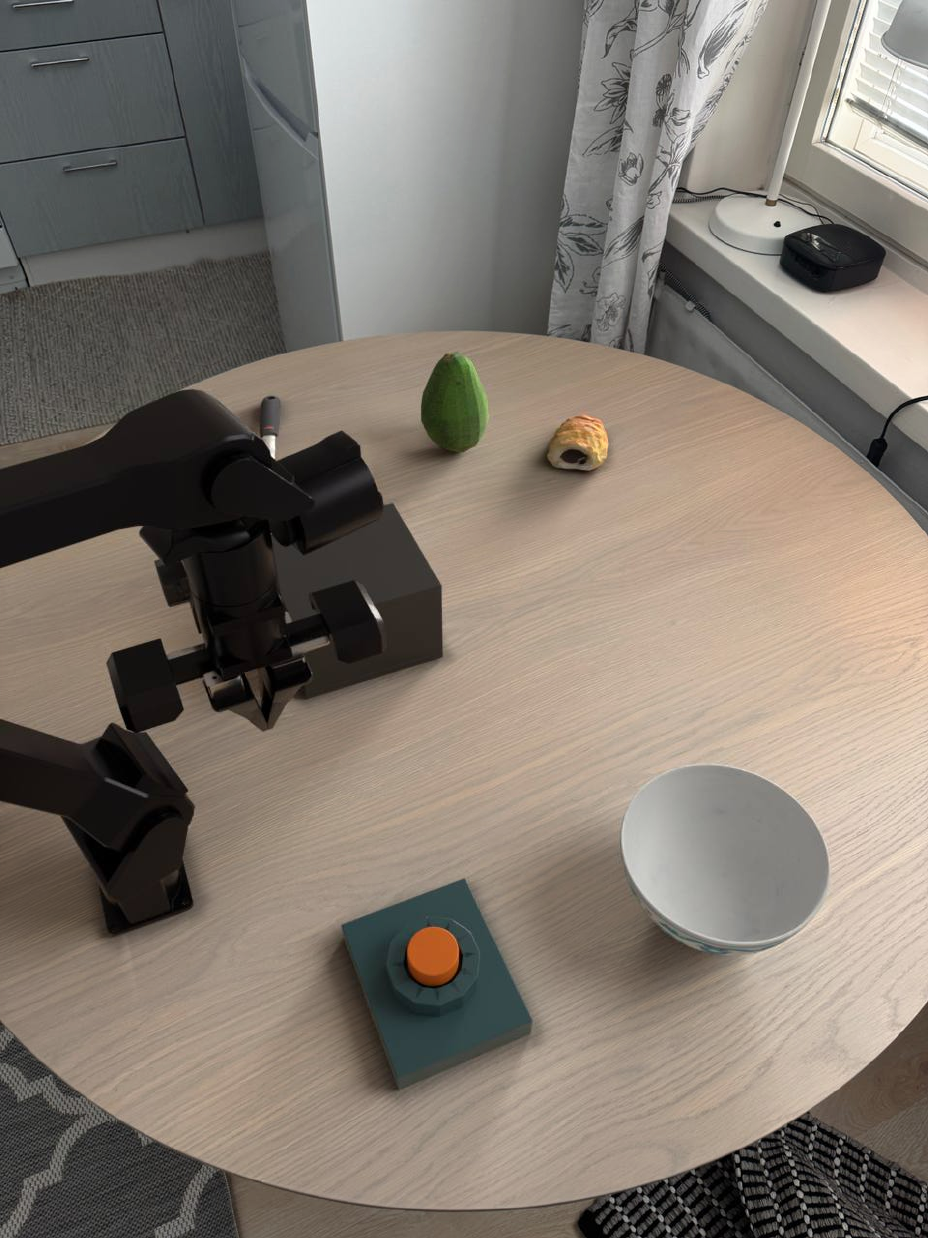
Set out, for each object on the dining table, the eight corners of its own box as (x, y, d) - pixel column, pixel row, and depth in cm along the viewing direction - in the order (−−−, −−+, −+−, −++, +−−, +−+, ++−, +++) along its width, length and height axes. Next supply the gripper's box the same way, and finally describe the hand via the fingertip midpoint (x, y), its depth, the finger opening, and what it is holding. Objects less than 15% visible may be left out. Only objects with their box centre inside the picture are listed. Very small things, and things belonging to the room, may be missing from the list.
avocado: (467, 420, 123) (468, 332, 115) (499, 453, 119) (502, 364, 110) (410, 437, 121) (406, 349, 112) (439, 472, 116) (438, 383, 107)
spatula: (246, 403, 126) (243, 386, 124) (300, 400, 126) (298, 383, 125) (237, 525, 109) (233, 508, 107) (299, 521, 110) (297, 504, 108)
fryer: (306, 699, 92) (294, 627, 85) (270, 610, 100) (256, 537, 93) (443, 657, 96) (442, 584, 89) (397, 574, 104) (393, 502, 97)
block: (531, 1033, 70) (534, 1009, 68) (398, 1091, 68) (396, 1068, 65) (464, 891, 78) (465, 865, 75) (343, 938, 75) (338, 912, 72)
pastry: (560, 423, 123) (562, 397, 120) (614, 432, 122) (618, 405, 119) (544, 468, 117) (547, 441, 114) (601, 477, 115) (605, 450, 113)
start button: (466, 975, 70) (466, 963, 68) (418, 994, 69) (418, 983, 67) (447, 931, 72) (446, 919, 71) (400, 949, 71) (399, 937, 70)
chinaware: (654, 1018, 71) (670, 969, 66) (581, 842, 81) (590, 787, 76) (841, 965, 74) (872, 914, 68) (748, 801, 84) (769, 745, 79)
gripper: (328, 472, 73) (344, 621, 84) (66, 541, 67) (121, 691, 79) (383, 566, 66) (394, 715, 77) (96, 651, 60) (152, 799, 71)
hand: (265, 726), depth 76 cm, fingers closed
